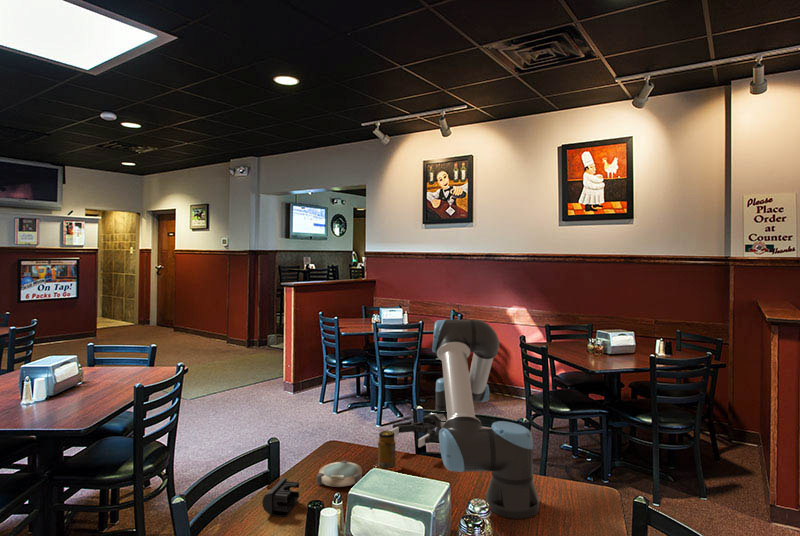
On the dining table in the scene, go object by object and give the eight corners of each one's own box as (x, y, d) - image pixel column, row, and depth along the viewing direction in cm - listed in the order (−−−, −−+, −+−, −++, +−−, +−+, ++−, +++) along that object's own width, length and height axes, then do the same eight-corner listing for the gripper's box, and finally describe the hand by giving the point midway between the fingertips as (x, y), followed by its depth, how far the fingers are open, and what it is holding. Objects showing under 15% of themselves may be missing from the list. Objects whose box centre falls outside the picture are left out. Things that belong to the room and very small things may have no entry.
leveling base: (364, 468, 161) (364, 458, 161) (359, 489, 146) (359, 477, 146) (324, 468, 162) (324, 457, 162) (314, 488, 147) (314, 476, 147)
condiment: (388, 461, 168) (388, 428, 168) (403, 469, 161) (403, 434, 161) (372, 467, 163) (372, 432, 163) (387, 475, 156) (387, 439, 156)
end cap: (277, 499, 141) (277, 476, 141) (299, 501, 140) (299, 478, 140) (261, 516, 131) (261, 492, 131) (285, 518, 130) (285, 494, 130)
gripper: (460, 438, 180) (432, 457, 163) (407, 426, 194) (375, 442, 177) (460, 419, 180) (432, 436, 163) (406, 408, 194) (375, 422, 177)
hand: (403, 439), depth 170 cm, fingers open, 13 cm apart
